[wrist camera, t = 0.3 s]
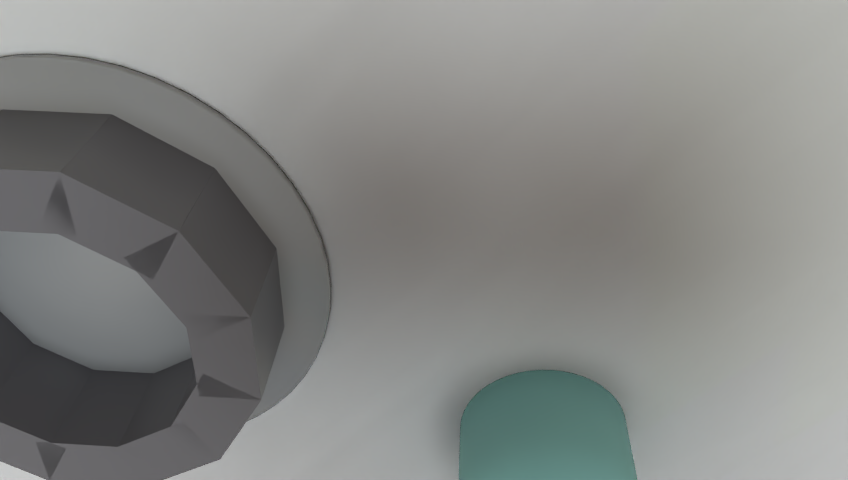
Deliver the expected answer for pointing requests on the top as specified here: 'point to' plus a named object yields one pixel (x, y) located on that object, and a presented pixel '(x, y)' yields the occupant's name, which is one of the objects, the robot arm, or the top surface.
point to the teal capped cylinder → (544, 431)
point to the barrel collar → (142, 275)
